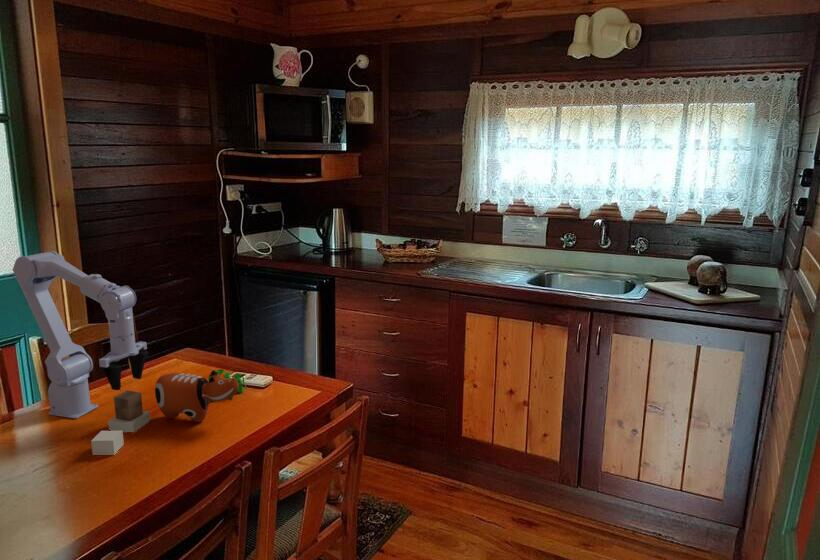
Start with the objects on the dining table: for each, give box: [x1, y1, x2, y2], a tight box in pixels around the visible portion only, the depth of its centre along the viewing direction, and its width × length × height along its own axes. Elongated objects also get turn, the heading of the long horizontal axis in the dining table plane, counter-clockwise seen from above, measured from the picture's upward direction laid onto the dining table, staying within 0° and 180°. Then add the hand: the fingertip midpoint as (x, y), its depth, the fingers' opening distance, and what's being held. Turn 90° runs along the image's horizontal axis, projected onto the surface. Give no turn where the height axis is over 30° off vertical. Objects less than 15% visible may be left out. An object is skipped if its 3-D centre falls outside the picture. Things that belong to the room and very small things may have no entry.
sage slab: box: [107, 410, 151, 433], centre depth 151 cm, size 7×7×3 cm
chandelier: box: [208, 369, 247, 402], centre depth 172 cm, size 15×15×7 cm
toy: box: [154, 369, 239, 423], centre depth 152 cm, size 10×23×15 cm, turn 78°
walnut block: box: [113, 390, 144, 421], centre depth 150 cm, size 4×4×6 cm
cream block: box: [90, 430, 125, 456], centre depth 138 cm, size 5×5×4 cm
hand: (126, 383), depth 152 cm, fingers open, 7 cm apart
